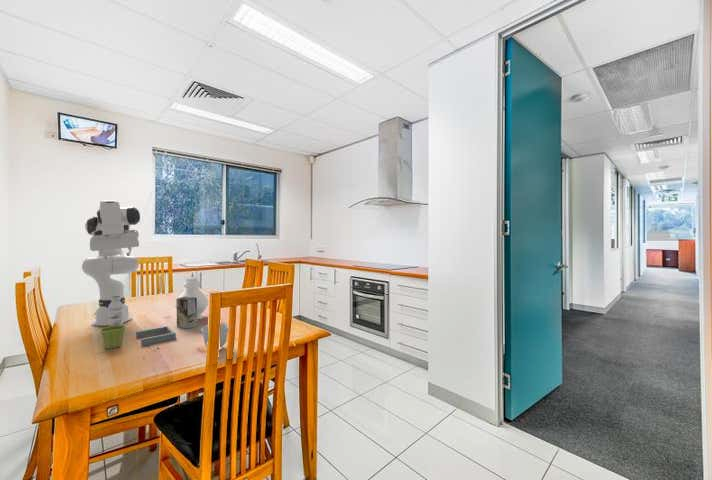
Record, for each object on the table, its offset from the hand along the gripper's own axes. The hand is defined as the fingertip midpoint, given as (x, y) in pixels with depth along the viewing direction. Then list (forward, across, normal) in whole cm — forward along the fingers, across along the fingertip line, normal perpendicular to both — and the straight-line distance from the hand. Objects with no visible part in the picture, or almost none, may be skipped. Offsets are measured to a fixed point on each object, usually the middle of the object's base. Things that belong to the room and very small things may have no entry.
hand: (117, 257), depth 161 cm
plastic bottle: (+40, +5, +2) cm, 40 cm away
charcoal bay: (+42, -12, +18) cm, 47 cm away
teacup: (+45, -33, +49) cm, 74 cm away
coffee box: (+43, -27, +5) cm, 51 cm away
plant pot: (+40, +5, +21) cm, 46 cm away
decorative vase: (+43, -32, -11) cm, 55 cm away
